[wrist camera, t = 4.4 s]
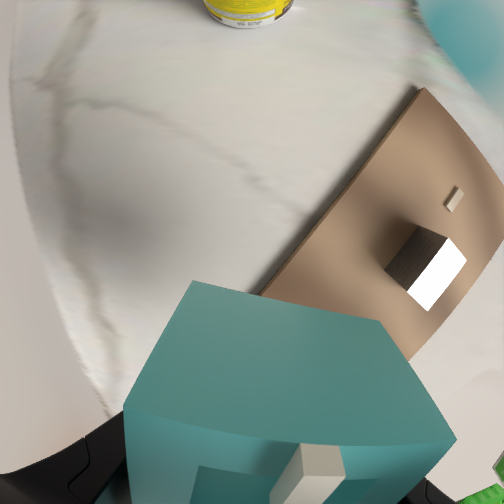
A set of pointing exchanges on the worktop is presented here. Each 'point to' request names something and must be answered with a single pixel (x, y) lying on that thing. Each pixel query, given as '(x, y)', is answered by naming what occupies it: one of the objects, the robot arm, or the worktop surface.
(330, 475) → the teal hollow block
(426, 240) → the grey rectangular block
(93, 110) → the worktop surface
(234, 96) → the worktop surface
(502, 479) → the skincare box
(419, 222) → the base plate
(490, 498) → the fruit basket
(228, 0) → the supplement bottle
